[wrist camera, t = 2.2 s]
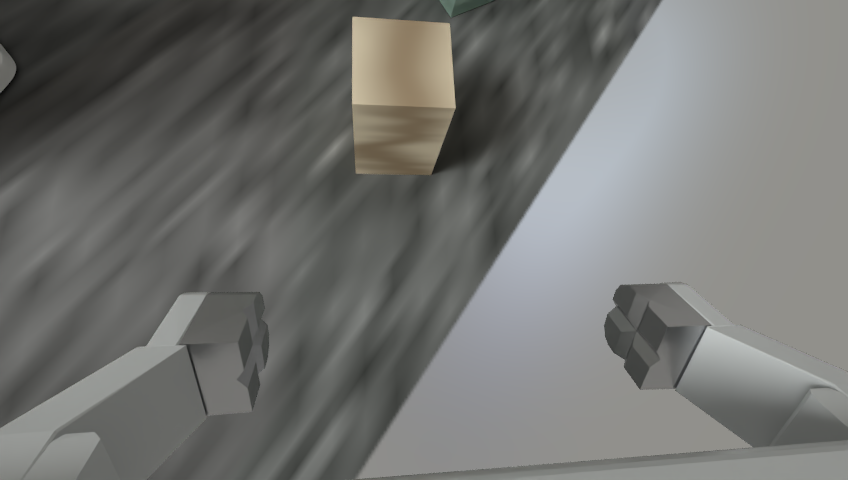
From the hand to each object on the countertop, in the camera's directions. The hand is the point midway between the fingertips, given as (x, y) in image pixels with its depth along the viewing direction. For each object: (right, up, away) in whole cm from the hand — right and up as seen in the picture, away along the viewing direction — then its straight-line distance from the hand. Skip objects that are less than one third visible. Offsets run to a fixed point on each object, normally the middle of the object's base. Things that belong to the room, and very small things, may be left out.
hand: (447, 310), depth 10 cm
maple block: (-3, +8, +19) cm, 21 cm away
